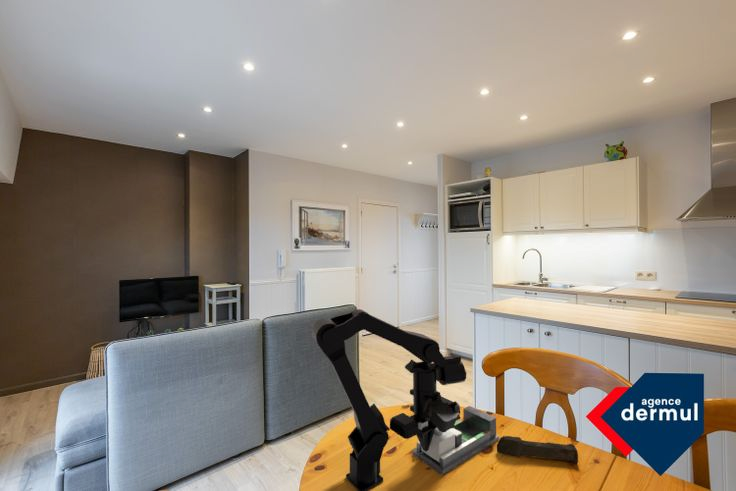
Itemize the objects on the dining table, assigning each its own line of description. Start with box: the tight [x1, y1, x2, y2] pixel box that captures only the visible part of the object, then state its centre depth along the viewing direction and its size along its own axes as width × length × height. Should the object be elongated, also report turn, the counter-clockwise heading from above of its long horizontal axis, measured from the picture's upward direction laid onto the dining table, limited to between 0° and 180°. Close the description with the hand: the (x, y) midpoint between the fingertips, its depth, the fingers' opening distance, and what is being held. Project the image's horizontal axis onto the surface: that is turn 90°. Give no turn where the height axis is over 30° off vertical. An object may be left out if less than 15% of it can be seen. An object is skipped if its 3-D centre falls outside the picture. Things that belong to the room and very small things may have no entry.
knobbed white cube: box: [421, 428, 455, 462], centre depth 83 cm, size 6×6×5 cm
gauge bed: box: [412, 405, 500, 476], centre depth 88 cm, size 24×10×6 cm, turn 127°
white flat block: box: [448, 428, 462, 448], centre depth 86 cm, size 2×6×4 cm, turn 37°
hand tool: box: [496, 435, 579, 465], centre depth 84 cm, size 19×4×5 cm, turn 78°
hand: (425, 450), depth 81 cm, fingers closed
